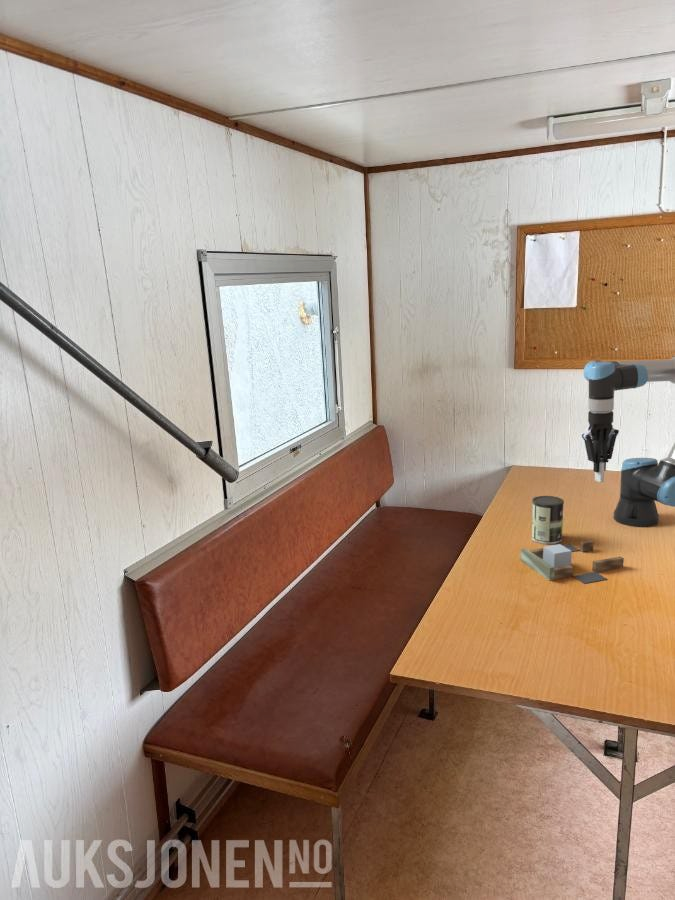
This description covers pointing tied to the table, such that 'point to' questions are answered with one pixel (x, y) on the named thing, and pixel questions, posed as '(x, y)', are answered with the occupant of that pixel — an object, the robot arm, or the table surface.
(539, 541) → the coffee can
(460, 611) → the table surface
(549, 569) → the lane
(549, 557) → the block
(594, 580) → the mat
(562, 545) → the mat
